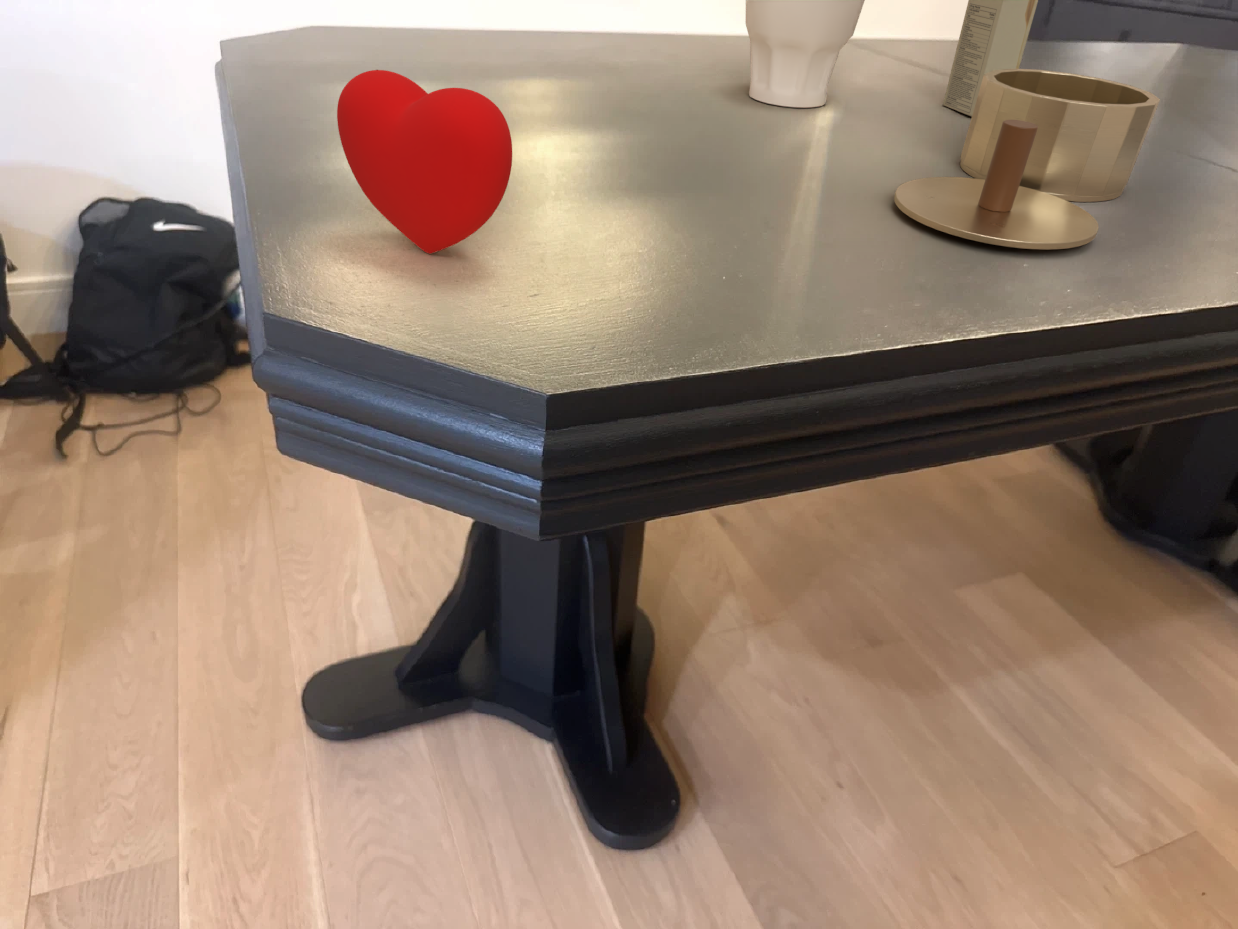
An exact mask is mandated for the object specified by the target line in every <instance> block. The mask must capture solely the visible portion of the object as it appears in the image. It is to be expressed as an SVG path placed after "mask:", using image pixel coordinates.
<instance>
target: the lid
mask: <svg viewBox="0 0 1238 929" xmlns="http://www.w3.org/2000/svg"><path fill="white" fill-rule="evenodd" d="M1037 130H1038V126H1037V125H1036V124H1033V123H1030V122H1026V121H1021V120H1005V121H1003V123H1002V127H1001V130H1000V133H999V136H998V140H997V143H996V146H995V150H994V153H993V156H992V160H991V163H990V166H989V169H988V173H987V176H986V179H985V180H984V179H976V178H974V177H963V176H962V177H961V176H932V177H929V176H928V177H922V178H916V179H911V180H908V181H905V182H904V183H902V184H900V185H899V186H898V187H897V188H896V190H895V192H894V196H893V197H894V198H893V200H894V204H895V205H896V207H897V208H898V209H899V210H900V211H901V212H902V213H903V214H905V215H906V216H908V217H909V218H911V219H912V220H914V221H915V222H918V223H919V224H922V225H924V226H927V227H929V228H932V229H934V230H937V231H940V232H943V233H945V234H948V235H952V236H955V237H958V238H962V239H965V240H970V241H973V242H979V243H983V244H989V245H993V246H994V245H995V246H1001V247H1006V248H1015V249H1027V250H1047V251H1049V250H1063V249H1073V248H1077V247H1081V246H1084V245H1087V244H1089V243H1091V242H1092V241H1094V239H1095V238H1096V237H1097V234H1098V232H1099V223H1098V221H1097V219H1096V218H1095V217H1094V216H1093V215H1091V214H1090V213H1089V212H1088V211H1086V210H1085V209H1084V208H1082V207H1080V206H1078V205H1076V204H1074V203H1072V202H1071V201H1066V200H1063V199H1061V198H1058V197H1055V196H1053V195H1050V194H1047V193H1044V192H1040V191H1037V190H1033V189H1030V188H1026V187H1022V186H1019V185H1020V182H1021V179H1022V175H1023V172H1024V169H1025V166H1026V163H1027V160H1028V157H1029V154H1030V151H1031V148H1032V145H1033V142H1034V139H1035V136H1036V133H1037Z"/></svg>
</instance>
